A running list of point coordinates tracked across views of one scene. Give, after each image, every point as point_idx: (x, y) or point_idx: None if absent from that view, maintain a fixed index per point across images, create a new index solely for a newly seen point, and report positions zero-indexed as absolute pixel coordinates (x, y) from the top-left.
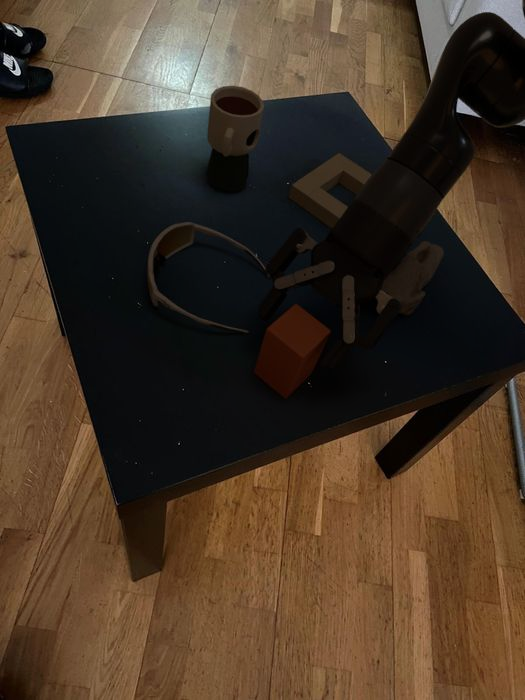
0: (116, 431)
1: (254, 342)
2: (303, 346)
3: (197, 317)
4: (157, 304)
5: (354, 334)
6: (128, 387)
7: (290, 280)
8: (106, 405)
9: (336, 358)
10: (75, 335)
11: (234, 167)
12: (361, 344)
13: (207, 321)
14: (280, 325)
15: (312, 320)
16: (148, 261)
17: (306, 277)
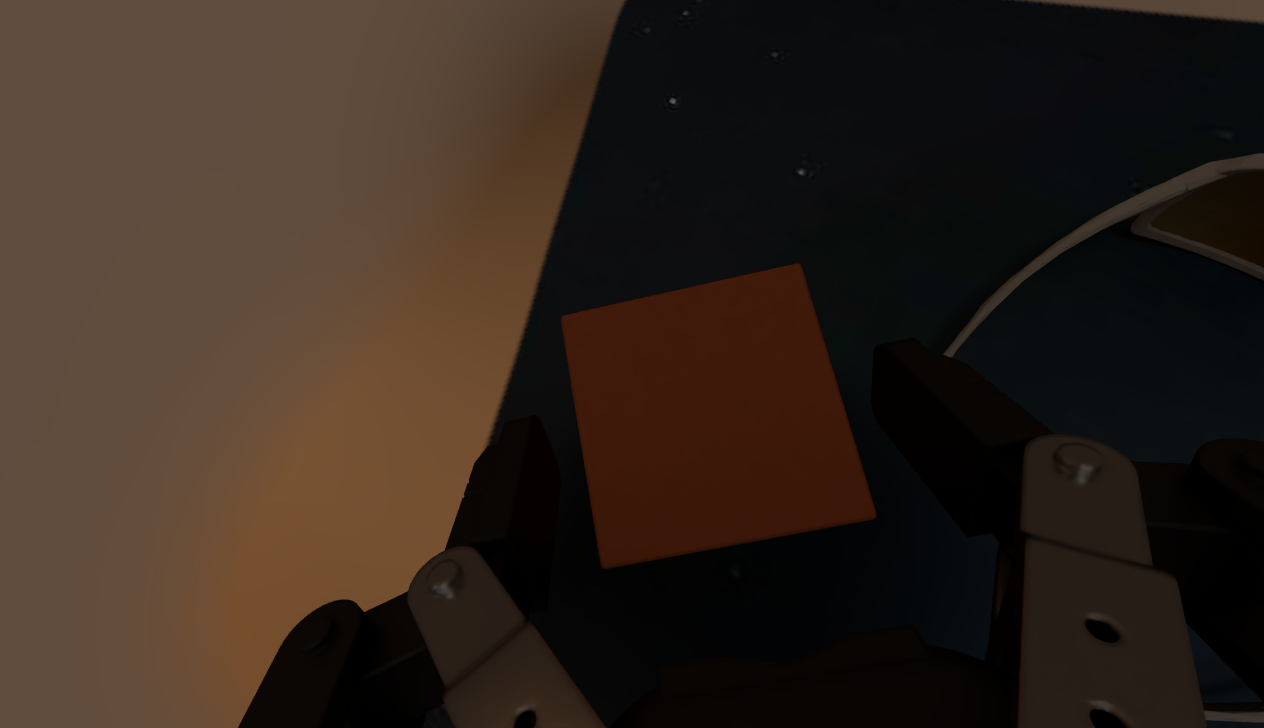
0: (777, 5)
1: None
2: (611, 360)
3: (1028, 272)
4: (1141, 217)
5: (416, 618)
6: (876, 65)
7: (1077, 526)
8: (853, 9)
9: (480, 484)
10: (1104, 14)
11: None
12: (351, 608)
13: (995, 298)
14: (781, 333)
15: (718, 519)
16: None
17: (1056, 624)
